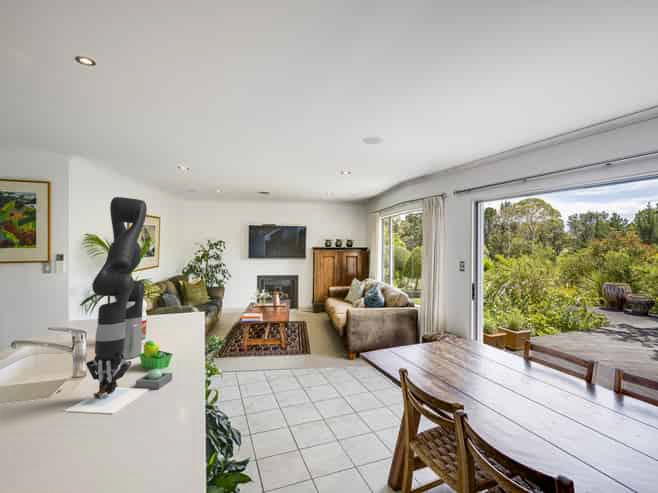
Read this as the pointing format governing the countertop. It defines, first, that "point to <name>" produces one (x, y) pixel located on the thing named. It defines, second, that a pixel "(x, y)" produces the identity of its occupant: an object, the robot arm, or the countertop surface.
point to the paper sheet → (108, 401)
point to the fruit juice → (144, 318)
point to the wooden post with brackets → (101, 391)
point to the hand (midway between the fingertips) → (107, 392)
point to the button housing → (153, 381)
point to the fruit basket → (154, 356)
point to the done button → (154, 374)
